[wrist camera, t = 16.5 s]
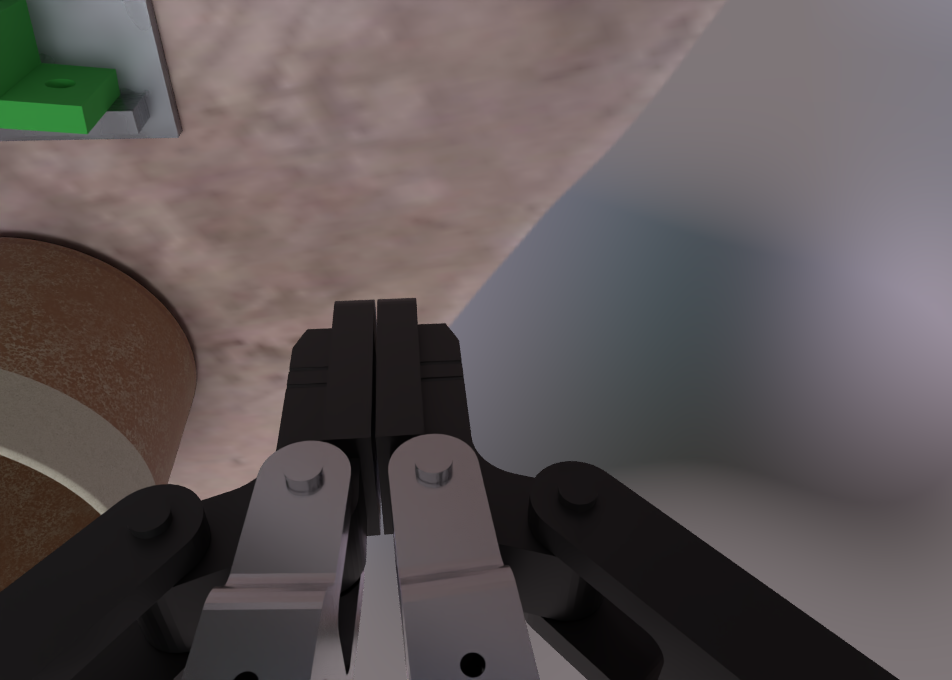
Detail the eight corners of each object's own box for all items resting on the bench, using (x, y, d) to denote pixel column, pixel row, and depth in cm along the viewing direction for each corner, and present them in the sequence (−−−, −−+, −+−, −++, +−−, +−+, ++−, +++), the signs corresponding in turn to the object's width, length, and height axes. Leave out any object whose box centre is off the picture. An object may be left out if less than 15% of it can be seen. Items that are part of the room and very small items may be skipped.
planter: (242, 307, 40) (190, 503, 29) (148, 478, 48) (80, 684, 37) (-85, 173, 34) (-302, 361, 23) (-134, 395, 41) (-315, 614, 31)
